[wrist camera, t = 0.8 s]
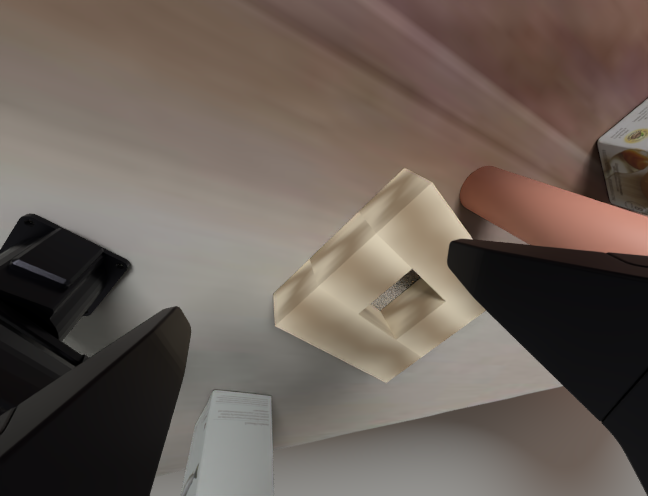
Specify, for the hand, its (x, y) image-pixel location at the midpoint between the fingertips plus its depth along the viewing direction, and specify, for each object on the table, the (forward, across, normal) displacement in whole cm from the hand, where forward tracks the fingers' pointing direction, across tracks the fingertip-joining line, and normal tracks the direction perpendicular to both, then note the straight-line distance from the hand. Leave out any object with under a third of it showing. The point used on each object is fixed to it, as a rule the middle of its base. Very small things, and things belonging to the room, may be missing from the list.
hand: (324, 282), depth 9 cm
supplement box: (+13, -12, -27) cm, 33 cm away
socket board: (+13, +8, -12) cm, 19 cm away
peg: (+13, +17, -4) cm, 21 cm away
